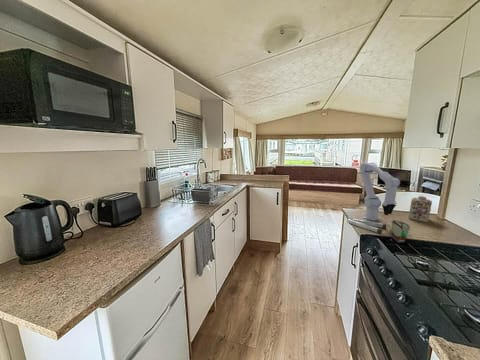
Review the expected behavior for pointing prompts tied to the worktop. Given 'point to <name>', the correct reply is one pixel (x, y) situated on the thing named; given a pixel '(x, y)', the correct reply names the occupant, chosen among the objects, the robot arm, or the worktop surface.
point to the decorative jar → (420, 209)
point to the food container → (399, 230)
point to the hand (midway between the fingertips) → (387, 214)
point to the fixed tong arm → (364, 226)
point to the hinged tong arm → (370, 223)
